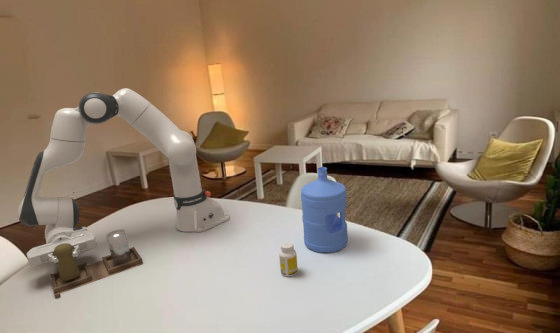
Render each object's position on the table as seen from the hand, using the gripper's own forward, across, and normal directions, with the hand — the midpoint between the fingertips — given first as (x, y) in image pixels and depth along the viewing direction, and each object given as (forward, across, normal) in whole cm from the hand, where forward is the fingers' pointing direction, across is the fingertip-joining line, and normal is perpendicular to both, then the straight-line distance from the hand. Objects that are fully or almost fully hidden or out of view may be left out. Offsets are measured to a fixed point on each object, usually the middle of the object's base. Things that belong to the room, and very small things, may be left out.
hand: (65, 258), depth 124 cm
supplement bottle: (+41, +58, +9) cm, 72 cm away
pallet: (-1, +8, +9) cm, 12 cm away
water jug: (+34, +79, +9) cm, 86 cm away
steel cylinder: (-1, +16, +8) cm, 18 cm away
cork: (-1, 0, +7) cm, 7 cm away
